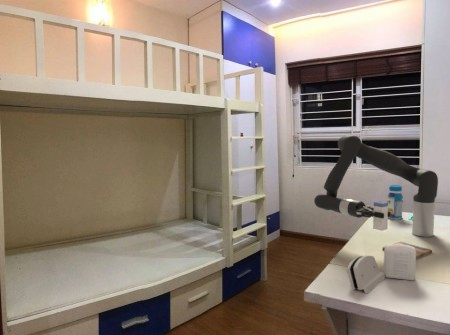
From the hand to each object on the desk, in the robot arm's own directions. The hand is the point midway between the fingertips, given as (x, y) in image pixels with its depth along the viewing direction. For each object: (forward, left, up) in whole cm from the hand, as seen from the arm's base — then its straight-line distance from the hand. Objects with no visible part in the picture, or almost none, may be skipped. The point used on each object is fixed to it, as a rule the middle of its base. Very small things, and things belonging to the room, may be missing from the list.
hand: (386, 215), depth 136 cm
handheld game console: (-75, -25, -18) cm, 81 cm away
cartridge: (0, -3, -6) cm, 7 cm away
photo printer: (+15, +15, -18) cm, 28 cm away
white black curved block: (+29, +11, -18) cm, 36 cm away
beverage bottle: (-63, -34, -18) cm, 74 cm away
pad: (-13, +2, -18) cm, 22 cm away
